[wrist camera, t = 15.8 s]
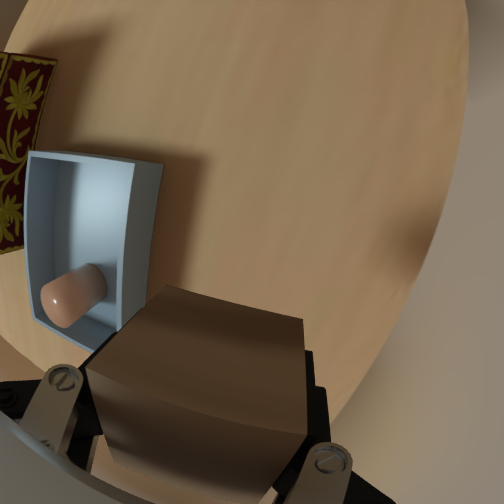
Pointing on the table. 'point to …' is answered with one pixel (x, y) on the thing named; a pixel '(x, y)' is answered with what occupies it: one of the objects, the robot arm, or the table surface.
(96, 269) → the canister
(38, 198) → the tote
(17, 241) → the decorative box
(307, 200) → the table surface
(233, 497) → the walnut block
